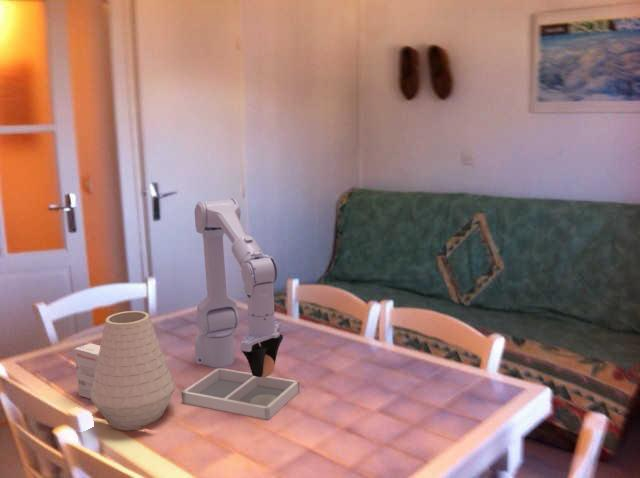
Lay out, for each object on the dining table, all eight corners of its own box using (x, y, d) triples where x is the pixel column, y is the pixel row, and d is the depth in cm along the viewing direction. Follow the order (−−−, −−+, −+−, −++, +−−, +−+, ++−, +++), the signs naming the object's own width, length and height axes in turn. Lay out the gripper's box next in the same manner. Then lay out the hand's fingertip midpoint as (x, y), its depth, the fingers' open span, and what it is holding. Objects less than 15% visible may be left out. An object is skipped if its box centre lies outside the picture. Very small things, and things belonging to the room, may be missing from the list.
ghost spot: (245, 404, 144) (245, 403, 144) (259, 393, 150) (259, 392, 150) (270, 409, 142) (270, 408, 142) (284, 397, 147) (284, 396, 147)
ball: (248, 378, 143) (247, 357, 142) (259, 370, 148) (258, 349, 147) (268, 382, 141) (267, 360, 140) (278, 373, 146) (278, 352, 145)
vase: (133, 446, 129) (123, 336, 125) (75, 426, 138) (65, 322, 134) (193, 411, 144) (187, 311, 139) (138, 394, 153) (130, 300, 148)
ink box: (119, 395, 153) (115, 348, 150) (102, 403, 149) (97, 355, 146) (94, 388, 157) (90, 341, 155) (77, 395, 153) (72, 348, 151)
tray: (182, 406, 146) (181, 392, 146) (218, 381, 160) (218, 367, 159) (268, 424, 137) (267, 408, 137) (299, 395, 151) (299, 381, 150)
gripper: (260, 324, 134) (263, 386, 136) (292, 305, 147) (294, 361, 149) (231, 321, 136) (234, 381, 139) (264, 301, 149) (267, 357, 152)
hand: (263, 371), depth 144 cm, fingers closed on ball, 5 cm apart
